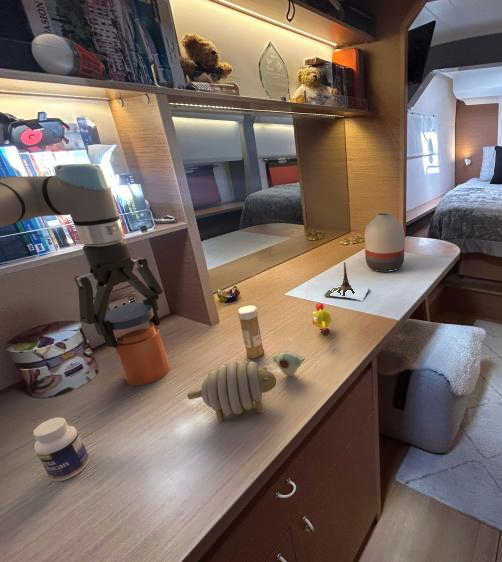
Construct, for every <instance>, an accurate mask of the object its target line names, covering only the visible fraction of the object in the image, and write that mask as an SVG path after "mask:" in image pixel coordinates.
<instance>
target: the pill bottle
mask: <svg viewBox="0 0 502 562" xmlns="http://www.w3.org/2000/svg"><path fill="white" fill-rule="evenodd" d="M32 434H33V437H34V439H35V440H36V441H35V443H34V451H35V454H36V455H37V457H38V459H39V461H40V462H41V464H42V466H43V468H44V470H45V471H46V473H47V475H48V477H49V479H50V480H51V481H54V482H62V481H66V480H68V479H71V478H73V477H74V476H75V477H76V476H77V475H78V474H79V473H81V472H82V471H83V470H84V469H85V468H86V467H87V466H88V464H89V462H90V455H89V453H88V450H87V449H86V447H85V444H84V442H83V440H82V438H81V436H80V434H79V432H78V430H77V428H75V427H74V426H72V425H69V424H68V423H67V421H66V419H65V418H64V417H59V416H58V417H52V418H50V419H48V420H45V421H43V422H42V423H40V424H39V425H38V426H36V427H35V429H33V432H32Z"/></svg>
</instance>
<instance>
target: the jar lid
mask: <svg viewBox="0 0 502 562" xmlns="http://www.w3.org/2000/svg"><path fill="white" fill-rule="evenodd" d="M153 316H154V311H153V308H152V305H150V304H148V303H143V302H134V303H127V304H124V305H120V306H117V307H115V308H112V309H109V310H108V311H106V315H105V319H106V320H109V321H110V324H111V327H112V329H113V331H116V330H121V329H127V328H132V327H135V326H138V325H141V324H143V323H145V322H147V321H149V320H150V319H151V318H152V317H153Z"/></svg>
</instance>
